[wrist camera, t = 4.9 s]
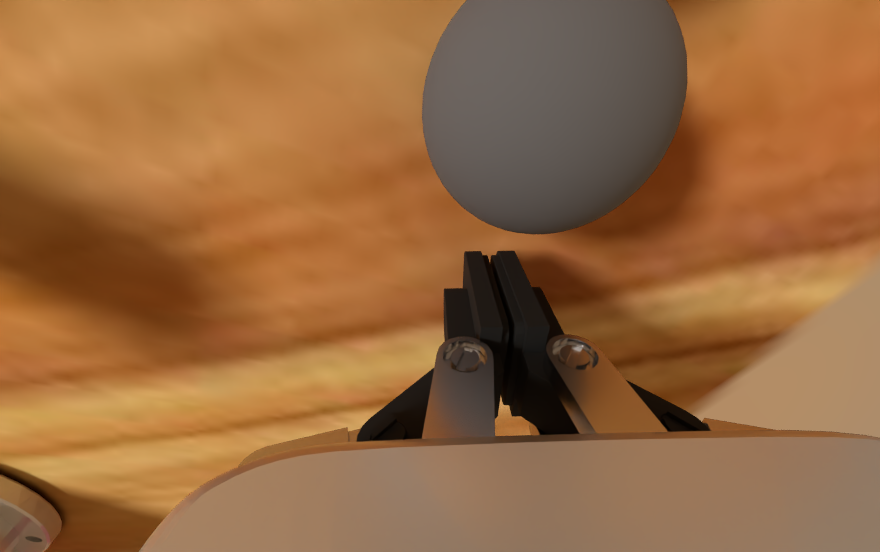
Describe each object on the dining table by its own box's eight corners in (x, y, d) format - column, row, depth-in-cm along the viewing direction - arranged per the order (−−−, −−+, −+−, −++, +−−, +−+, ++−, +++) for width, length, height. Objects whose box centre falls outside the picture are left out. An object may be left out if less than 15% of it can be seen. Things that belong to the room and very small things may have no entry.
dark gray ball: (869, 28, 4) (660, -44, 8) (468, -54, 4) (430, -95, 7) (629, 283, 9) (561, 163, 12) (416, 278, 8) (408, 149, 11)
